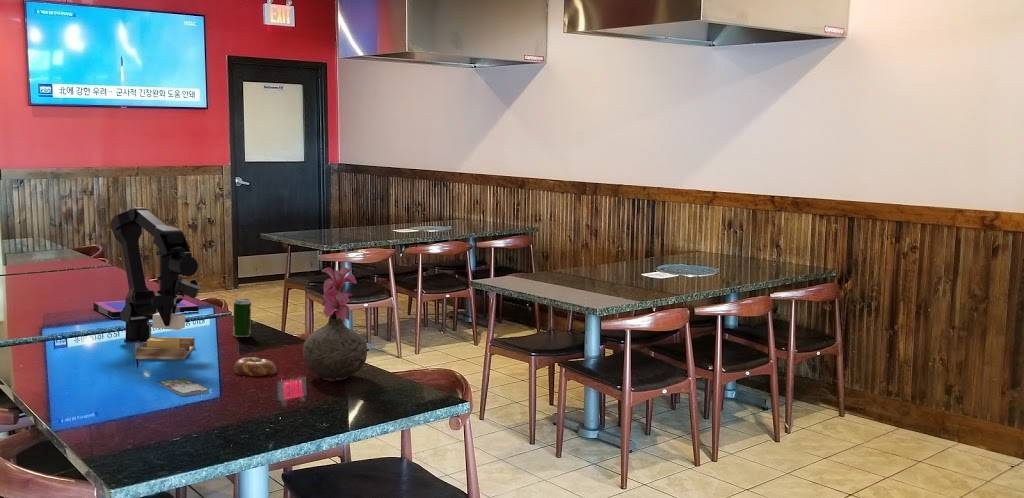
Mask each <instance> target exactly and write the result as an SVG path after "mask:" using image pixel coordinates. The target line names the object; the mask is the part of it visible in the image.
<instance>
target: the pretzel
mask: <svg viewBox="0 0 1024 498" xmlns="http://www.w3.org/2000/svg"><path fill="white" fill-rule="evenodd" d="M233 371H234V372H235V373H236V375H240V376H241V375H242V376H251V377H253V376H256V377H261V376H271V375H275V374H276V373H277V367H276V364H275V362H274V361H271V360H269V359H266V358H262V359H261V358H260V357H251V356H248V357H242V358H239V359H238V360H236V361H235V363H234V365H233Z"/></svg>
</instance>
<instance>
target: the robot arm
mask: <svg viewBox="0 0 1024 498" xmlns="http://www.w3.org/2000/svg"><path fill="white" fill-rule="evenodd" d="M110 228H111V231H112V235H113V237H114V238H115V239H116V240H117V241H118V242H119V243H120V245H121V251H122V256H123V262H124V268H125V274H126V279H127V285H128V292H127V295H126V296H125V299H124V301H125V303H126V305H125V306H124V308H123V310H122V311H121V313H120V318H121V319H120V321H121V322H124V323H125V338H124V339H123V342H130V343H131V342H139V343H141V342H142V343H143V342H147V340H148V337H152V324H151V323H150V321H153V314H156V309H157V310H158V312H159V314H160V316H161V318H162V321H163V323H164V325H165V326H169V324H170V319H171V314H172V313H175V312H176V309H177V305H178V304H179V303H180V302H181V301H182V300H185V299H184V298H185V297H186V296H188V297H189V298H191V299H196V298H197V297H198V295H199V292H200V291H201V285H200V284H199V281H198V280H197V279H194V278H193V279H192V280H190V281H189V280H187V281H186V280H183V277H192V276H194V275H195V274H196V273H197V271H198V268H199V265H198V264H199V263H198V261H197V260H196V258H195V257H193V254H192V252H191V250H190V248H191V247H190V245H189V243H188V241H187V238H186V236H185V234H184V231H183V230H181V229H179V228H178V227H175V226H171V225H167V224H165V223H164V222H163V221H161V220H160V219H159V218H158V217H157V216H156V215H154V214H153V213H152V212H151V211H150V209H149V208H148V207H147V208H146V207H132V208H129V209H128V210H127V211H124V212H122V213H118V214H117V215H114V216H113V218H112V219H110ZM142 229H144V230H145V231H146V232H147V233H149V234H150V236H152V237H153V244H154V245H155V246H156V247H157V248H158V249H159V250H158V251H157V252H156V253H155V254H156V256H159V265H158V266H159V269H158V273H159V274H158V276H157V280H158V289H157V290H156V294H155V291H154V290H152V289H149V288H148V286H147V284H146V277H145V272H144V265H143V261H142V257H141V256H142V255H141V249H140V245H139V240H140V238H141V236H142V234H143V230H142ZM179 296H181V297H179Z"/></svg>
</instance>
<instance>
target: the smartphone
mask: <svg viewBox="0 0 1024 498" xmlns="http://www.w3.org/2000/svg"><path fill="white" fill-rule="evenodd" d="M157 385H159V386H161V387H163V388H165V389H166V390H169V391H171V392H172V393H175V394H176V395H179V397H188V396H196V395H200V394H207V393H210V388H209V387H206V386H204V385H201V384H199V383H197V382H194V381H191V380H189V379H187V378H176V379H168V380H160V381H158V382H157Z"/></svg>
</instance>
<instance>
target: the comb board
mask: <svg viewBox="0 0 1024 498" xmlns="http://www.w3.org/2000/svg"><path fill="white" fill-rule="evenodd" d="M150 338H180V348H147V341H146V342H142V343H141V347H135V360H185V359H186V358H187V357H188V355H189V354H190V353H191V352H192V351H193V350H194V348H195V347H196V346H195V345H196V344H195V337H189V336H187V337H185V336H177V337H176V336H175V337H172V336H151V337H148V339H150Z"/></svg>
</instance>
